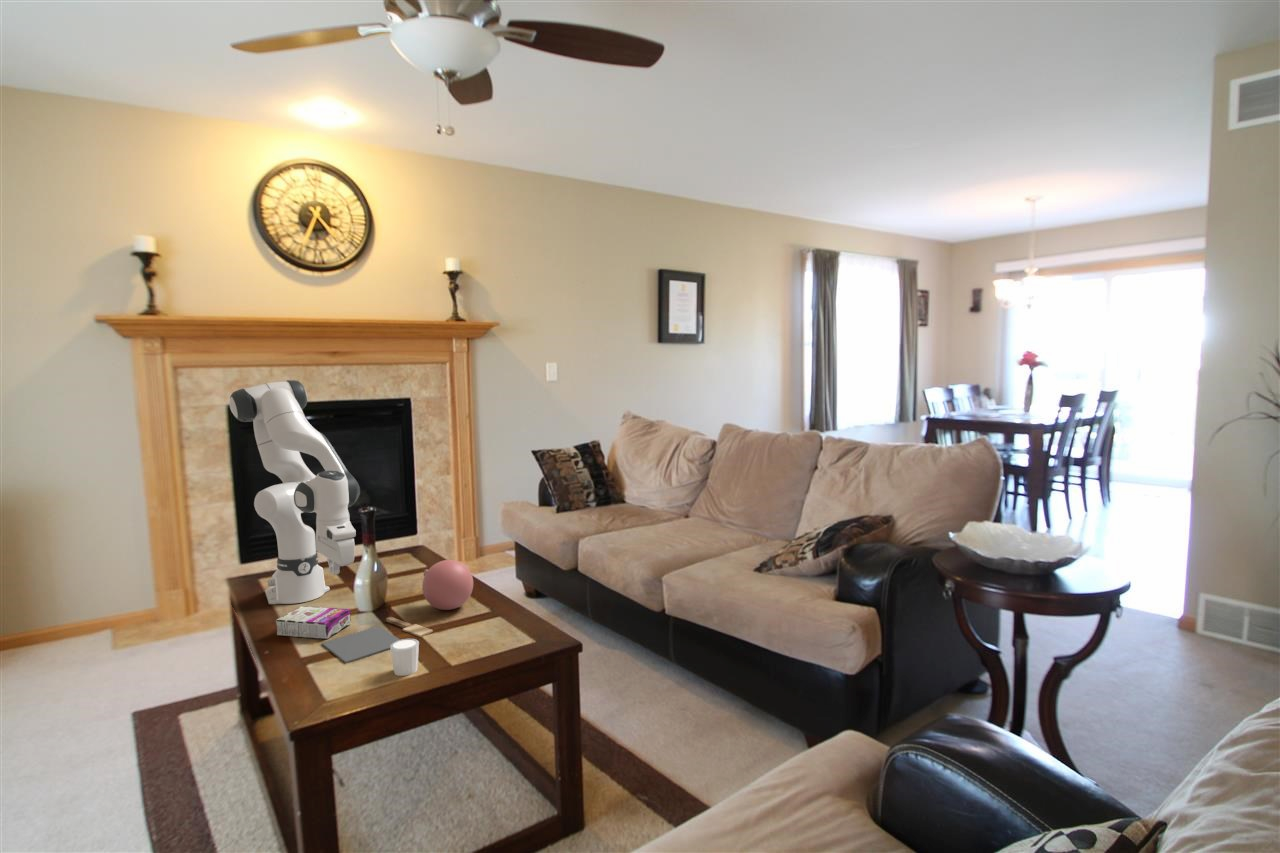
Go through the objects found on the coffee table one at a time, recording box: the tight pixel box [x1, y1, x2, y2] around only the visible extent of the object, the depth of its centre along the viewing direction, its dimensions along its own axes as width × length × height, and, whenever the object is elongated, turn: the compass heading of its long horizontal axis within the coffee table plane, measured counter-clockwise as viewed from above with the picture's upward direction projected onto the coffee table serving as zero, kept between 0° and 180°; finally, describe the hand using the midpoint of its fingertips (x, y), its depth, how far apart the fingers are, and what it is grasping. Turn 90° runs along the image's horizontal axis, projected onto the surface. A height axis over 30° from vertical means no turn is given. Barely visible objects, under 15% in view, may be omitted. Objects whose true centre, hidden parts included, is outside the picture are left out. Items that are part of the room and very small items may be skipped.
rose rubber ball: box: [421, 559, 474, 611], centre depth 209 cm, size 15×20×15 cm
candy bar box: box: [275, 605, 352, 640], centre depth 192 cm, size 11×5×16 cm
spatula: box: [385, 616, 434, 638], centre depth 193 cm, size 18×4×1 cm, turn 55°
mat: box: [321, 625, 401, 664], centre depth 182 cm, size 17×16×1 cm
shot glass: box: [390, 638, 420, 677], centre depth 166 cm, size 7×7×7 cm
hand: (334, 573), depth 194 cm, fingers closed
